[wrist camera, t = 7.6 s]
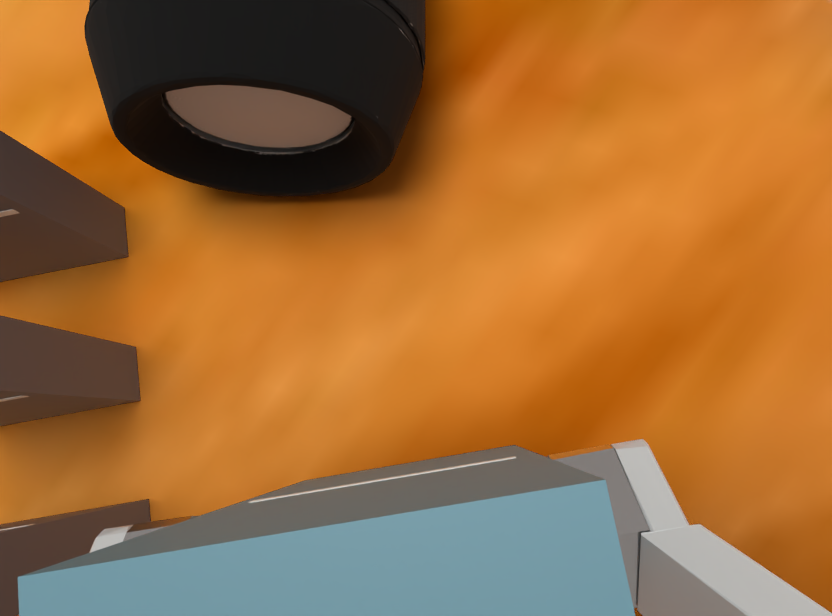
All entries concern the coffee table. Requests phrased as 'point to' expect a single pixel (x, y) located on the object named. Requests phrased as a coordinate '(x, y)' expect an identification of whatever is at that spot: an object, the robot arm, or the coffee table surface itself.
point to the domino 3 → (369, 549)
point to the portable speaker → (260, 87)
